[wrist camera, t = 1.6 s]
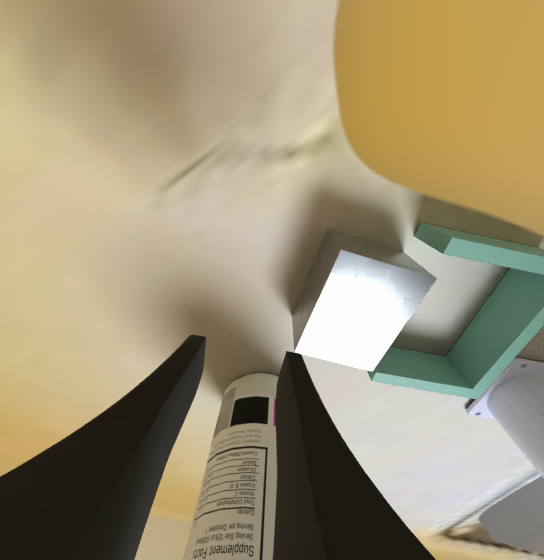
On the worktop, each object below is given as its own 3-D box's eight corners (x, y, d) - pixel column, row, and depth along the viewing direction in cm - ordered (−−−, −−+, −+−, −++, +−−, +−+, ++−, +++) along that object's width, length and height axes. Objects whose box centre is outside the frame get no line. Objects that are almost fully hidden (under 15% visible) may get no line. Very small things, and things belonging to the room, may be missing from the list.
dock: (538, 247, 17) (595, 268, 14) (450, 366, 23) (477, 399, 20) (420, 222, 17) (452, 237, 14) (358, 349, 22) (371, 381, 19)
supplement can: (312, 378, 24) (349, 652, 11) (287, 426, 28) (292, 673, 15) (233, 360, 23) (168, 629, 10) (218, 411, 27) (157, 658, 14)
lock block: (402, 251, 18) (436, 278, 14) (355, 331, 22) (372, 371, 18) (327, 228, 17) (341, 249, 13) (292, 314, 21) (294, 352, 17)
